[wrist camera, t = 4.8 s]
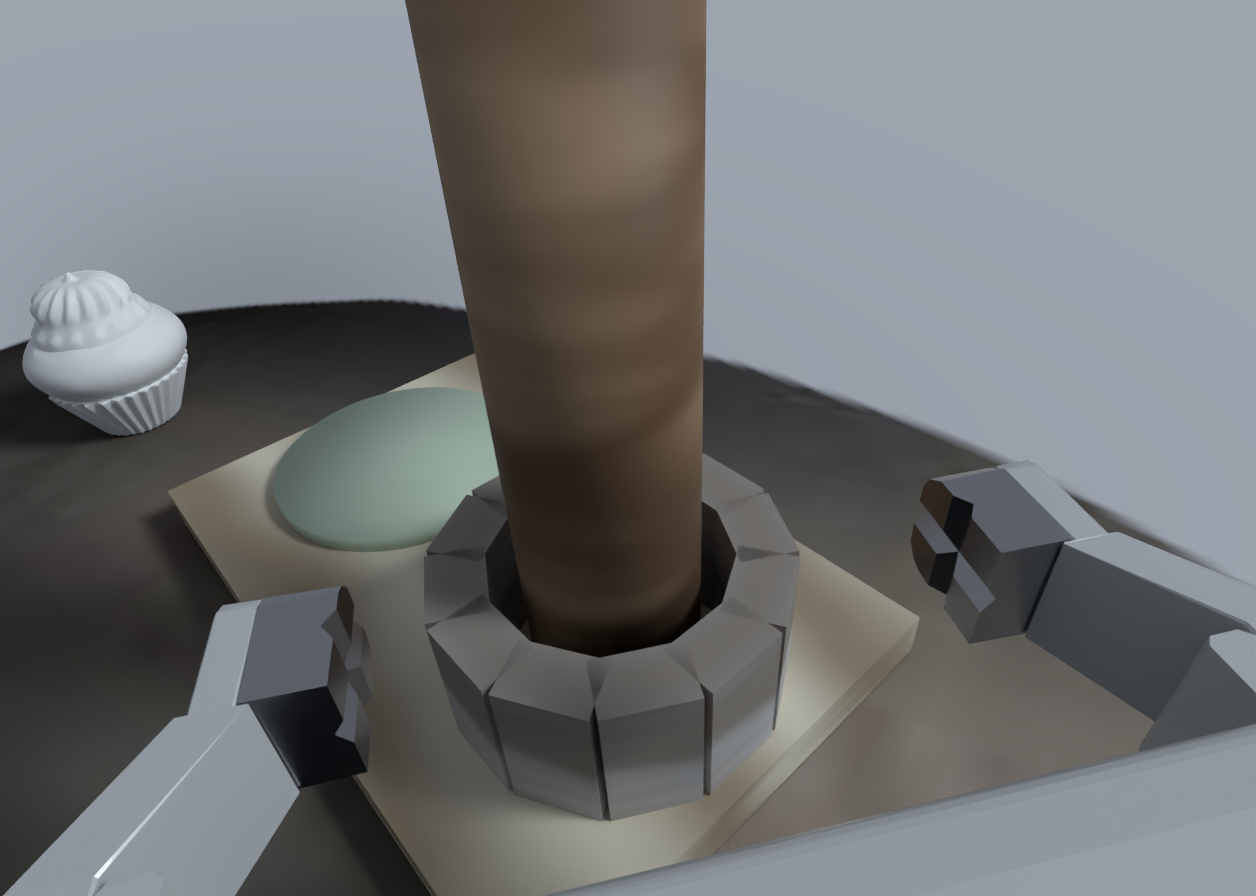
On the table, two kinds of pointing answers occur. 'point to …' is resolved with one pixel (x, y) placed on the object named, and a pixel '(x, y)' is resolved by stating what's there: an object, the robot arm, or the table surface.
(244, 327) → the table surface
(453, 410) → the sage pad
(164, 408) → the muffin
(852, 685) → the birch board
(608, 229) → the walnut peg
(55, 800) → the table surface
